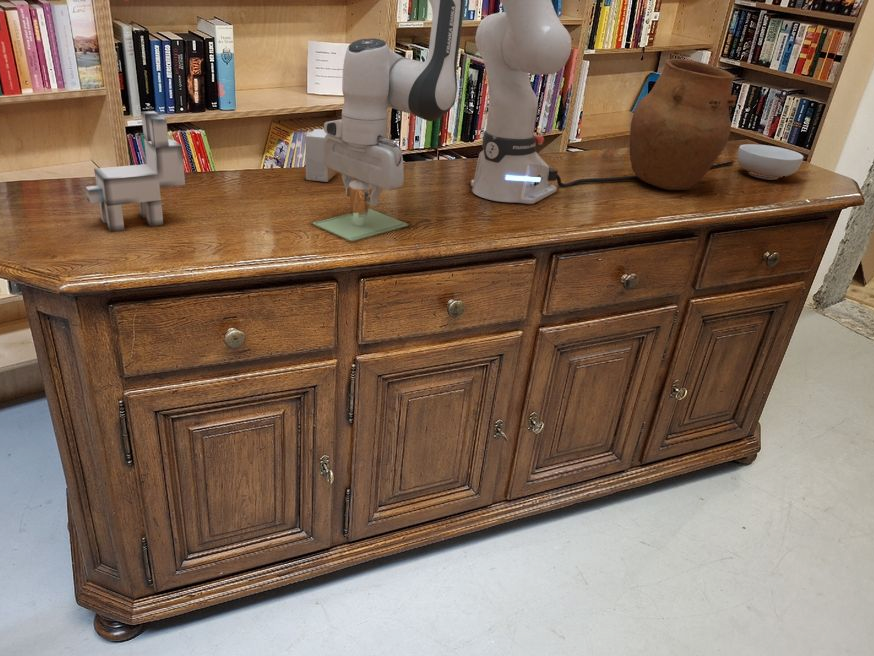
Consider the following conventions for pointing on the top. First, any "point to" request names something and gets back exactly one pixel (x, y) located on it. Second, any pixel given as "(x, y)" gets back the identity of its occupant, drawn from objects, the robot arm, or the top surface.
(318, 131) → the small box
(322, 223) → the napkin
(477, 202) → the top surface
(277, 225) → the top surface
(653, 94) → the pot
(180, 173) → the toy llama
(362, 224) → the milkshake
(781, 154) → the cereal bowl
